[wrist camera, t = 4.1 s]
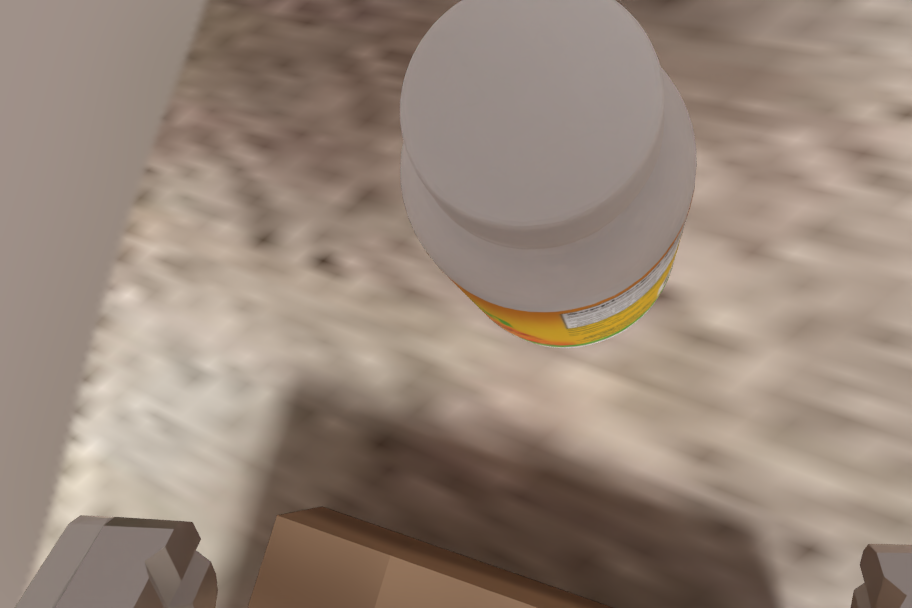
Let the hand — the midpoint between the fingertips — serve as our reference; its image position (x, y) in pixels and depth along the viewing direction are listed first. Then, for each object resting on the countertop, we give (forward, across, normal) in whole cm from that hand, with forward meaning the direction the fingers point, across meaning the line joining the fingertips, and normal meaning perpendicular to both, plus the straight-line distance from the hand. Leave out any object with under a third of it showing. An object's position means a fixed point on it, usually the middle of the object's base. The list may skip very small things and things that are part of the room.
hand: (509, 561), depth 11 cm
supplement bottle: (+12, 0, +3) cm, 13 cm away
